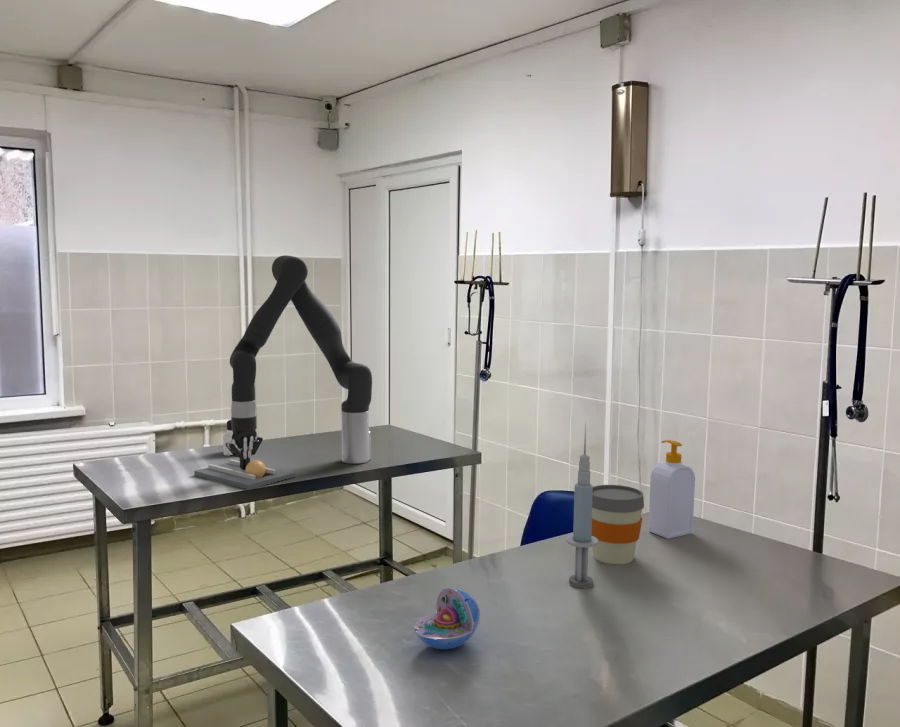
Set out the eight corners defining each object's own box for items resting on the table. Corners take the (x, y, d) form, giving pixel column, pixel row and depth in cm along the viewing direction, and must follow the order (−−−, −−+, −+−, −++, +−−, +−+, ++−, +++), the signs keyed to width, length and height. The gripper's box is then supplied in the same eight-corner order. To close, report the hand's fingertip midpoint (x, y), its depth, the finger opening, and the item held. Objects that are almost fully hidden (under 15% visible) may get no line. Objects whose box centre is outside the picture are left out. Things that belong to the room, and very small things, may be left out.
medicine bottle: (243, 455, 263) (242, 421, 262) (223, 455, 264) (222, 421, 262) (249, 451, 270) (248, 417, 269) (229, 450, 271) (228, 417, 269)
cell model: (401, 645, 130) (401, 591, 129) (455, 625, 137) (455, 574, 136) (438, 668, 122) (439, 611, 121) (493, 646, 130) (494, 592, 129)
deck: (241, 464, 252) (241, 456, 251) (295, 477, 236) (295, 468, 236) (194, 475, 237) (194, 467, 237) (248, 490, 222) (248, 480, 222)
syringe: (597, 589, 154) (601, 419, 150) (565, 587, 155) (568, 418, 151) (596, 578, 159) (599, 415, 156) (565, 577, 160) (568, 414, 157)
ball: (265, 455, 235) (272, 472, 233) (255, 464, 238) (262, 481, 236) (248, 457, 230) (255, 475, 228) (239, 467, 233) (245, 484, 231)
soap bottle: (671, 525, 194) (675, 436, 191) (692, 533, 188) (697, 442, 185) (645, 531, 189) (649, 440, 187) (666, 539, 183) (670, 446, 181)
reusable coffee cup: (575, 559, 170) (577, 493, 168) (598, 543, 180) (600, 481, 179) (629, 571, 163) (632, 503, 161) (650, 554, 173) (652, 490, 172)
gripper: (233, 419, 227) (235, 476, 229) (268, 413, 237) (269, 467, 239) (218, 416, 231) (219, 472, 233) (253, 410, 242) (254, 463, 244)
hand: (245, 469), depth 236 cm, fingers closed
